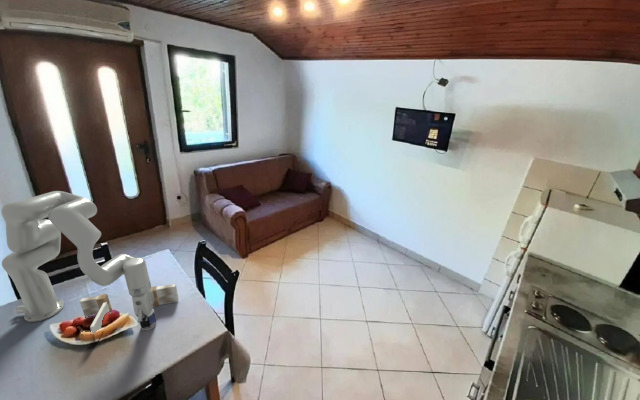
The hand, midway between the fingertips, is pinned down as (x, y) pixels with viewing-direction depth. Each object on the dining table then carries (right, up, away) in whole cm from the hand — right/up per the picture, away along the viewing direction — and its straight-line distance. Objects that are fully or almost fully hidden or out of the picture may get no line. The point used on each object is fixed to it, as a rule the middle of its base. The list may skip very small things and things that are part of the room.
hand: (148, 320), depth 113 cm
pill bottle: (0, -3, +1) cm, 3 cm away
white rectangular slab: (-18, -3, -2) cm, 18 cm away
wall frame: (-13, +2, +9) cm, 16 cm away
